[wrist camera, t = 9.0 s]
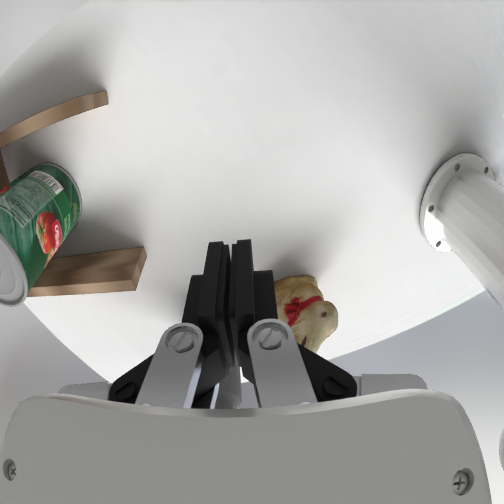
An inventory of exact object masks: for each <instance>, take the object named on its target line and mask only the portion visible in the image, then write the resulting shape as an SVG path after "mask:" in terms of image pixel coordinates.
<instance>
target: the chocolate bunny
mask: <svg viewBox="0 0 504 504" xmlns="http://www.w3.org/2000/svg"><path fill="white" fill-rule="evenodd" d="M274 288H275V296H276V304H277V313H278V320H281V321H283V322H285V323H286V324H288V325H289V326H290V328H291V330H292V331H293V334H294V337H295V340H296V342H297V343H299V344H300V345H302V346H304V347H305V348H307V349H309V350H310V351H312V352H314V353H315V354H316V352H317V350H318V348H319V347H320V345H321V343H322V342H323V341H324V340H325V339H326V338H327V337H329V336H330V335H331V334H332V333H333V332H334V331H335V330H336V328H337V326H338V312H337V309H336V308H335V306H334V305H333V304H332V303H331V302H328V301H324V299H323V295H322V293H321V291H320V290H319V289H318V286H317V282H316V281H315V279H314V278H313V277H309V276H301V277H297V276H291V277H287V278H284V279H281V280H279V281H276V282H274Z"/></svg>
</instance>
